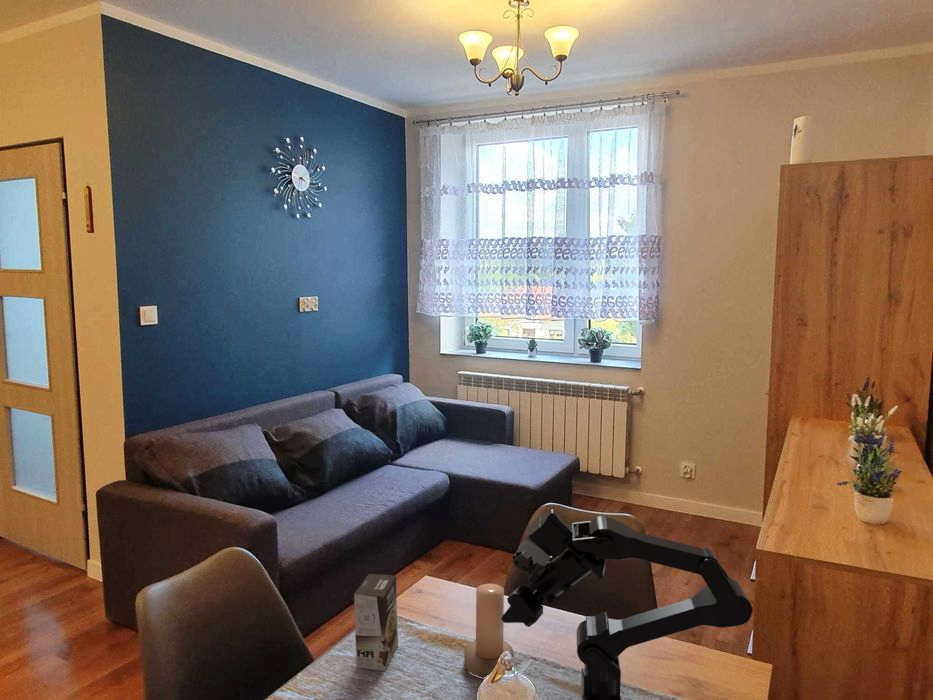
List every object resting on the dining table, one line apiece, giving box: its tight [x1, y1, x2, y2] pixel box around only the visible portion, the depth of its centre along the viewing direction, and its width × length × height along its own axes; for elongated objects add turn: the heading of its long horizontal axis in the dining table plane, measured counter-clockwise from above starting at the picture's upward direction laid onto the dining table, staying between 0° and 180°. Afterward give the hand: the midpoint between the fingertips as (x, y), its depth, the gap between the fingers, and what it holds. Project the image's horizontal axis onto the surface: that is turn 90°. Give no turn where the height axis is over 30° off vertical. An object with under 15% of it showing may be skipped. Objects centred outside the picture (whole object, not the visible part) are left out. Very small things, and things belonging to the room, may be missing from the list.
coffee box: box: [353, 573, 399, 672], centre depth 136 cm, size 9×6×16 cm
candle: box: [475, 583, 505, 659], centre depth 133 cm, size 6×6×13 cm
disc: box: [463, 639, 514, 678], centre depth 134 cm, size 10×10×3 cm
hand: (513, 608), depth 129 cm, fingers open, 9 cm apart
